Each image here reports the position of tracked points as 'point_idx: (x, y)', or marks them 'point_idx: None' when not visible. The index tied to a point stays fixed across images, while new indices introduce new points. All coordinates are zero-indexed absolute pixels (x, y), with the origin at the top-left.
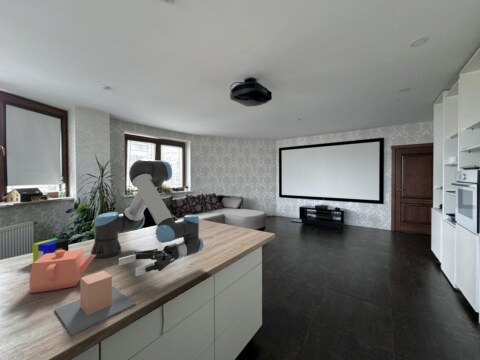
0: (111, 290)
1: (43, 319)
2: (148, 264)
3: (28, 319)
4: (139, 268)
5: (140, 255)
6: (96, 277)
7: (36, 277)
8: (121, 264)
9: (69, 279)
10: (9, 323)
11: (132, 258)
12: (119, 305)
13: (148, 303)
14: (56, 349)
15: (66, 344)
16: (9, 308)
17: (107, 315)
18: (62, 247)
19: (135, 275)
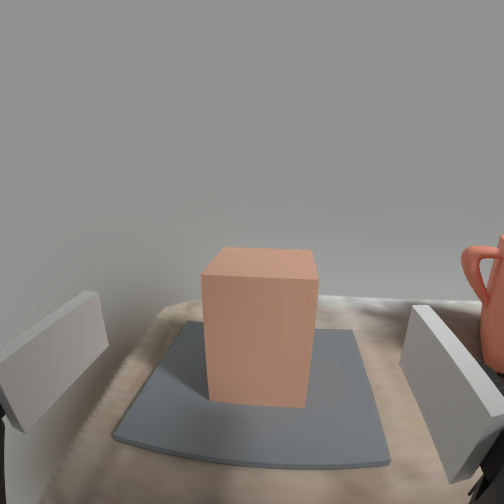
0: (205, 343)
1: (323, 321)
2: (19, 338)
3: (349, 311)
4: (72, 304)
5: (490, 499)
6: (258, 259)
7: (489, 277)
8: (405, 367)
9: (490, 330)
10: (358, 299)
11: (454, 419)
12: (172, 408)
13: (63, 460)
14: (176, 309)
15: (170, 317)
16: (428, 302)
17: (162, 368)
18: None
19: (108, 344)
